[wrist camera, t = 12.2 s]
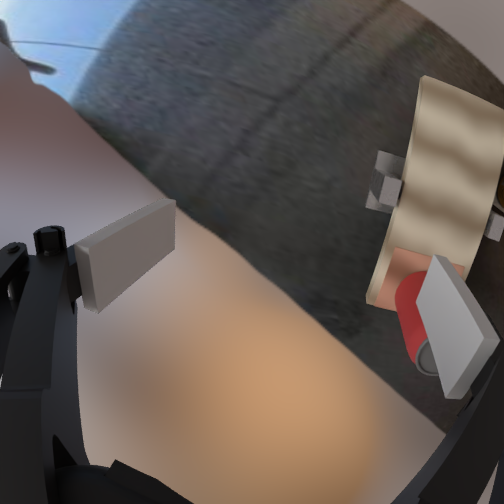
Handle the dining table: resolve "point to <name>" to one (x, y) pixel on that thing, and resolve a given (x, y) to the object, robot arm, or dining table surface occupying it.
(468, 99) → the balance beam
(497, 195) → the condiment
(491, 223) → the pivot stand
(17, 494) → the robot arm
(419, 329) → the beer can
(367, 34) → the dining table surface
